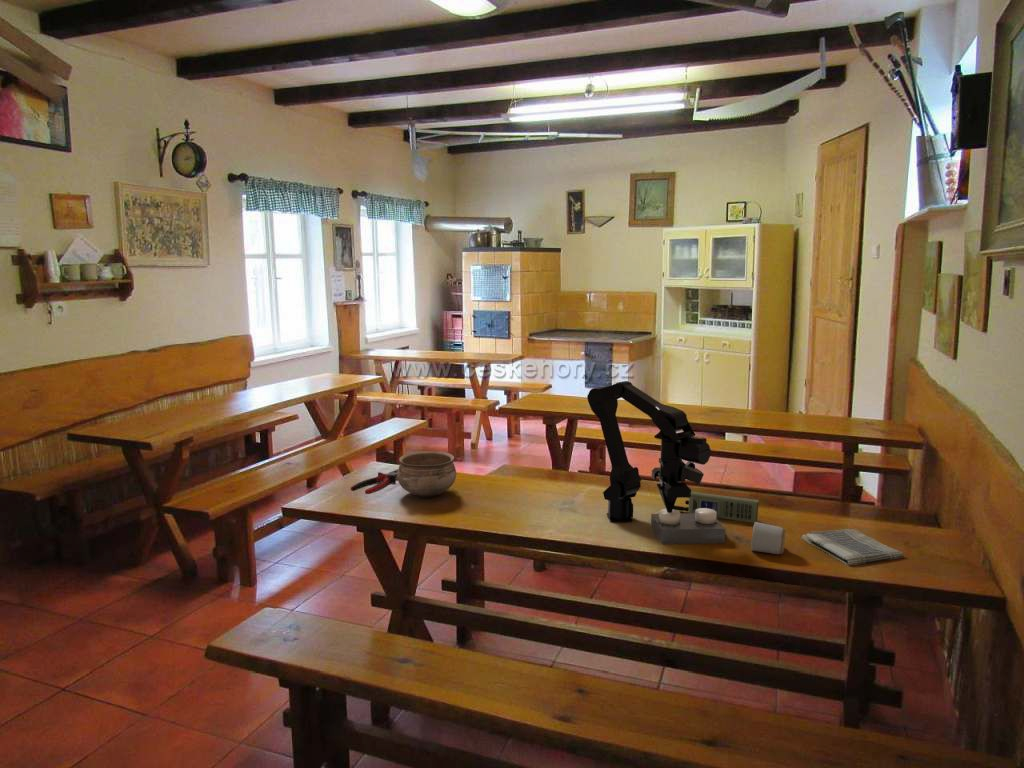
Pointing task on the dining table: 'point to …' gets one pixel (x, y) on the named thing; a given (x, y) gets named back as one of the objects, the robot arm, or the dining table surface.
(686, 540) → the mount
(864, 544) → the dish towel
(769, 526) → the block
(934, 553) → the dining table surface
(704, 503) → the handheld radio
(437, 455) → the cooking pot
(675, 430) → the robot arm
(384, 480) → the pliers
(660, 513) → the knob
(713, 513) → the knob
